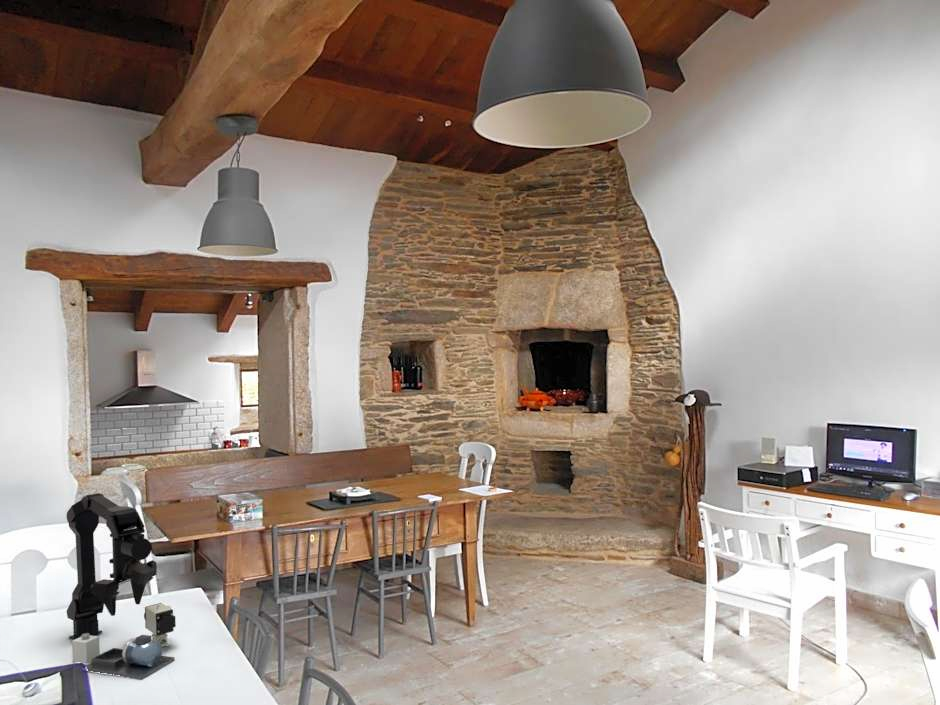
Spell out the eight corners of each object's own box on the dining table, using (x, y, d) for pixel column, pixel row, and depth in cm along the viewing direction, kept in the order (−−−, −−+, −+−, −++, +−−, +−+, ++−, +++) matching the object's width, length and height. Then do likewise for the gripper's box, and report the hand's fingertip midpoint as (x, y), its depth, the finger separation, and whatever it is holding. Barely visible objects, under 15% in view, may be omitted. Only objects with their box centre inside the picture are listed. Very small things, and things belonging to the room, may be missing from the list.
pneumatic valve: (159, 653, 207) (158, 611, 207) (144, 642, 215) (142, 602, 215) (179, 647, 211) (177, 606, 211) (163, 637, 219) (161, 597, 219)
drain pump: (72, 662, 203) (71, 636, 203) (85, 656, 207) (85, 630, 207) (86, 664, 201) (85, 638, 201) (99, 657, 205) (99, 632, 205)
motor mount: (82, 671, 197) (81, 639, 197) (117, 653, 208) (116, 623, 208) (141, 679, 190) (140, 647, 190) (174, 660, 201) (173, 630, 201)
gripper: (122, 565, 194) (123, 624, 194) (170, 547, 212) (172, 601, 212) (88, 562, 198) (90, 620, 198) (139, 544, 215) (141, 598, 216)
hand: (125, 609), depth 206 cm, fingers open, 9 cm apart
